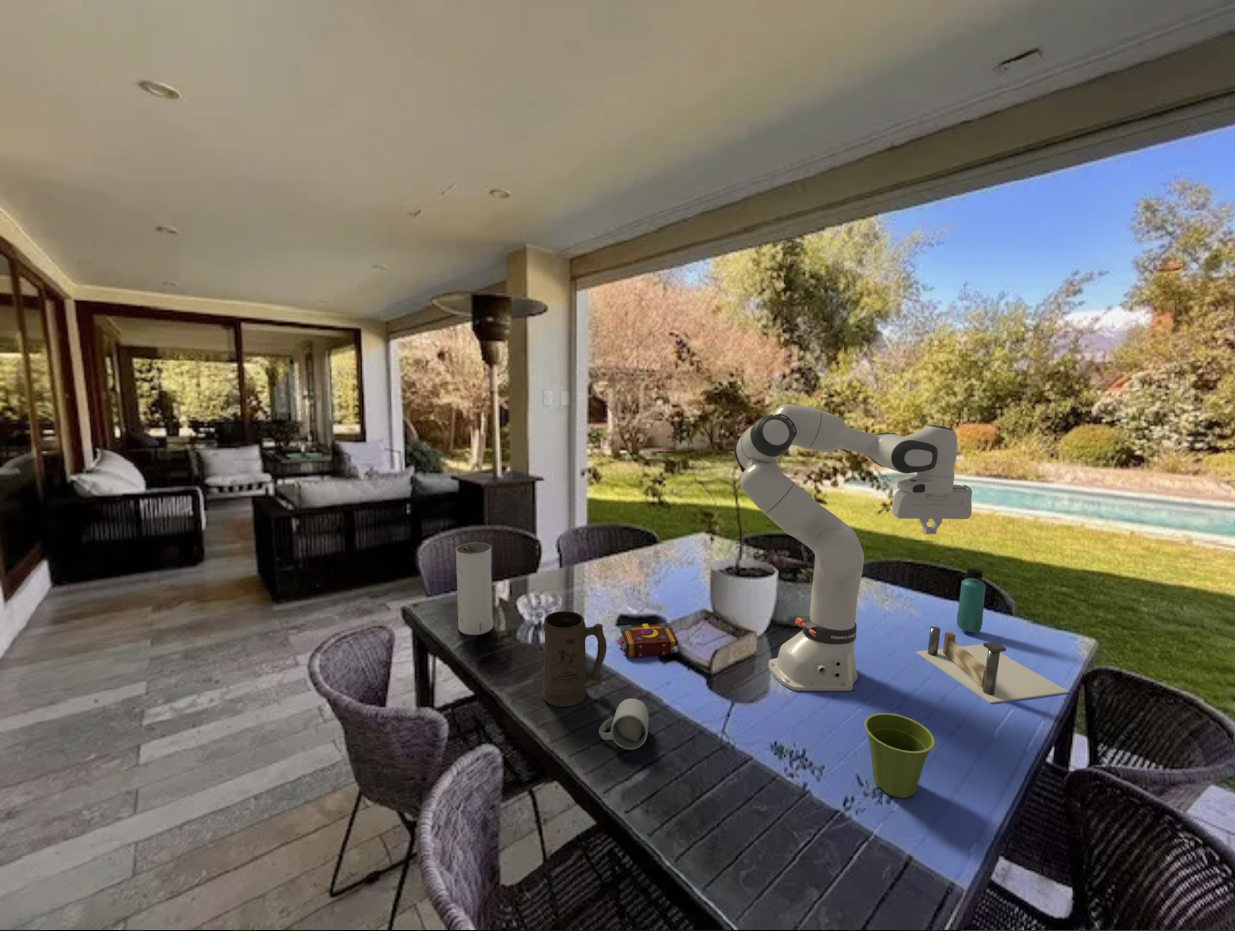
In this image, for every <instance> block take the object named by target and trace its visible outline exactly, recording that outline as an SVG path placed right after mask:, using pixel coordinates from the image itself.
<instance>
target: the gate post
mask: <svg viewBox="0 0 1235 931" xmlns="http://www.w3.org/2000/svg"><path fill="white" fill-rule="evenodd" d="M982 644H983V646H984V647H986V648H988V655H987V662H986V670H985V678H984V686H983V692H984V693H986V694H988V695H994V694H995V687H996V679H997V672H998V664H999V657H1000V653H1002V652H1006V651H1007V647H1005V646H1003V645H1001V644H1000V643H997V642H996V641H989V642H983V643H982Z"/></svg>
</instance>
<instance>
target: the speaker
mask: <svg viewBox="0 0 1235 931" xmlns="http://www.w3.org/2000/svg"><path fill="white" fill-rule="evenodd" d="M455 557H456V558H455V560H456V561H455V562H456V565H455V566H456V588H457V591H456V592H457V618H458V619H457V620H458V622H457V624H458V626H457V627H458V630H459V632H460V633H461V634H463V635H467V636H481V635H483V634H486V633H488V632H490V631H491V630H492V629H493V628H494V600H493V599H494V597H493V596H494V595H493V574H492V573H493V567H492V566H493V565H492V546H491V545H490V544H488V543H485V542H468V543H463V544H461V545H458V546H457V547H456V548H455Z"/></svg>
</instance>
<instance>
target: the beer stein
mask: <svg viewBox="0 0 1235 931" xmlns="http://www.w3.org/2000/svg"><path fill="white" fill-rule="evenodd" d="M542 628H543V631H544V644H543V645H544V648H543V649H544V651H543V652H544V653H543V655H544V656H543V679H542V686H543V688H542V698H543V700H544V701H545V702H546V703H547V704H549V705H552V706H554V707H560V708H561V707H562V708H563V707H572V706H575V705H578V704H579V703H582V702H583V700H585V699H586V696H587V686H586V685H587V684H588V682H590V681H595V682H598V683H599V682H601V680H602V678H603V677H602V676H603V675H602V673H601V667H602V664H604V661H605V659H606V655H607V645H608V644H607V639H606V636H605V633H604V632H603V630H604V629H603V628H604V624H601V623H595V624H593V625H592V626H587V625H586V623H585V618H584V616H583V615H581V614H580V613H578V612H575V611H568V610H561V611H559V610H558V611H554V612H551V613H549V614H548V615H546V616H545V617H544V620H543V625H542ZM589 636H594V637H595V638H596V640H597V651H596V658H595V660H594V663H593V667H592V669H591V670H590V671H589V672H588V670H587V661H586V656H587V655H586V654H587V653H586V652H587V651H586V650H587V649H586V639H587V638H588V637H589Z"/></svg>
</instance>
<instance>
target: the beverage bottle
mask: <svg viewBox="0 0 1235 931" xmlns="http://www.w3.org/2000/svg"><path fill="white" fill-rule="evenodd" d="M983 573H984V572H983V570H982V569H979V568H967V569H966V577H968V578H965V579H963V580H962V581H961V585H960V595H959V599H958V600H959V601H958V606H957V607H958V609H957V617H956V624H957V628H959V629H961V630H963V631H966V632H970V633H978V632H981V630H982V627H983V621H984V620H983V619H984V613H985V611H984V608H985V606H984V605H985V598H986V597H985V595H986V588H987V585H986V584H985V583H984V582H983V581H982V580H983ZM980 579H982V580H980Z"/></svg>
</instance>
